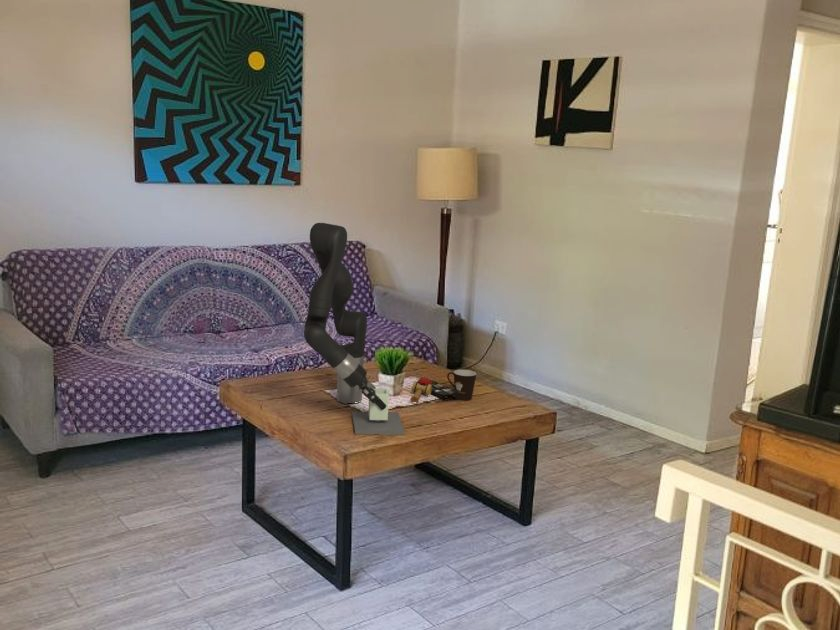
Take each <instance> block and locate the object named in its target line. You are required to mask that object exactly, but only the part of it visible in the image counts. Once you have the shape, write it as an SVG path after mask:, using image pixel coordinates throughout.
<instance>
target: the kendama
mask: <svg viewBox="0 0 840 630" xmlns="http://www.w3.org/2000/svg"><path fill="white" fill-rule="evenodd" d="M432 391H433V383H432V381H431V379H429V378H428V377H425V376H423V377H420V378H419V379H418V380H417V381H414V382H413V384H412V387H411V392H412V393H414V394H413V395H412V396H411V397H410V402H411V401H412V402H417V403H416V404H418V402H419V400H420V398H421V396H422V394H424V396H425V397H426V396H428V395H429V394H430V395H431V393H432ZM412 402H411V403H412Z"/></svg>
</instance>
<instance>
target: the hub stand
mask: <svg viewBox="0 0 840 630" xmlns="http://www.w3.org/2000/svg"><path fill="white" fill-rule="evenodd" d="M351 418H352V423H353V430H354V435H355V434H380V435H379V436H381V435H382V436H387V435H388V436H405V428H404V425H403V423H402V422H403V421H402V420H401V419H402V418H401V417H400V413H399V411H397V412H395V411H394V412H389V411H388V420H369V415H368V411H352V412H351Z"/></svg>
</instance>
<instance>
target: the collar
mask: <svg viewBox="0 0 840 630" xmlns="http://www.w3.org/2000/svg"><path fill="white" fill-rule="evenodd" d="M374 390H375V391H376V395H377V396H379V398H380V399H381V400H382V401H383V402H384V403H385V404H386V408H385V409H383V410H381V409H380V408H379V407H378V406H377V405H376V404H375V403H372V402H371V401H370V400H369V399H368V411H367V412H368V415H369V420H388V412H389V405H390V404H389V402H390V401H389V400H390V393H389V391H388V388H376V389H374ZM371 398H372V399H374V398H375V397H374V396H372V397H371Z"/></svg>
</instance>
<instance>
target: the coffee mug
mask: <svg viewBox="0 0 840 630" xmlns="http://www.w3.org/2000/svg"><path fill="white" fill-rule="evenodd" d="M450 375H452V376H453V382H452V381H451V379H450ZM446 377H447V380H448V382H449V383H450V385H451V386H452V387H453V388H454V399H455V398H456V400H458V401H461V402H464V401H465V402H468V401H471V400H472V398H473V392H474V390H475V384H476V378H477V372H476V371H474V370H470V369H455V370H454V371H452V372H451V371H450V372H447V375H446Z"/></svg>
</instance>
